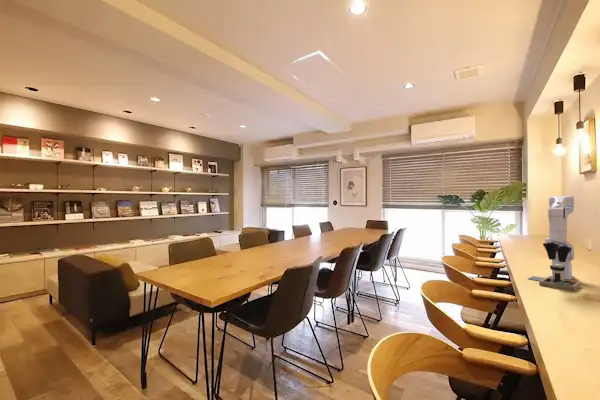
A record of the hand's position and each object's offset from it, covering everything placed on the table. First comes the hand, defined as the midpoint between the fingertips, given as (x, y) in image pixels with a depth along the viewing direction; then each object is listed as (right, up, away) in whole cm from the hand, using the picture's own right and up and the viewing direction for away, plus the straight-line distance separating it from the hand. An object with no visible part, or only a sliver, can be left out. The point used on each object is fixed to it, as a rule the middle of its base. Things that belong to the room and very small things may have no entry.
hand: (557, 260), depth 132 cm
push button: (+1, -12, 0) cm, 12 cm away
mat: (+1, -12, +11) cm, 16 cm away
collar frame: (+1, -12, 0) cm, 12 cm away
